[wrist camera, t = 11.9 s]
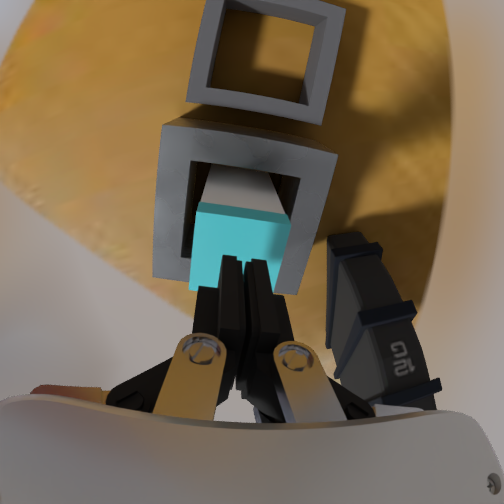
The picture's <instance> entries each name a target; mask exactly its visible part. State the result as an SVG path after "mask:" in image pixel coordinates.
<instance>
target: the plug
mask: <svg viewBox="0 0 504 504" xmlns="http://www.w3.org/2000/svg"><path fill="white" fill-rule="evenodd" d="M290 229H291V223H290V221H289V218H288V216H287V214H285V212H284V210H283V207H282V205H281V202H280V200H279V198H278V195H277V193H276V190H275V188H274V185H273V183H272V181H271V178H270V176H269V173H268V172H262V171H256V170H250V169H244V168H237V167H230V166H224V165H216V164H211V167H210V171H209V174H208V178H207V181H206V184H205V188H204V191H203V195H202V198H201V202H199V204H198V208H197V211H196V219H195V228H194V238H193V248H192V258H191V269H190V281H189V290H194V291H198V287H199V286H207V287H215V288H217V286H218V280H219V273H220V267H221V260H222V255H231V256H237V260H240V261H242V268H243V272H244V267H245V263H246V261H248V262H251V259H252V258H254V259H262V260H266V261H267V265H268V270H269V275H270V281H271V286H272V291H273V292H274V288H275V284H276V281H277V277H278V273H279V270H280V266H281V262H282V259H283V255H284V251H285V248H286V244H287V240H288V236H289V232H290Z"/></svg>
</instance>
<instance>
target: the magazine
mask: <svg viewBox="0 0 504 504" xmlns="http://www.w3.org/2000/svg"><path fill="white" fill-rule="evenodd" d="M382 252H383V249H382V247H381V246H380V245H379V243H378V242H373V243H369V242H368V241H367V240H366V238H365V237H364V236H363V234H362V233H361V232H352V233H345V234H338V235H331V236H328V238H327V307H326V343H325V345H326V348H327V349H330V348H332V351H333V355H334V358H335V362H336V365H337V367H336V369H335V372H334V378H335V379H339V378H340V381H341V385H342V386H343V387H345V388H346V389H348V390H349V391H351V392H352V393H354V394H355V395H357V396H359V397H360V398H362V399H363V400H365V401H366V402H367V403H368V404H370V406H371V407H373V406H374V405H375V404H380V405H389V406H400V407H413V408H420V409H423V410H424V411H428V410H437V409H436V404H435V399H434V393H437V392H439V391H442V386H441V382H440V378H436V379H433V380H431V381H430V378H429V373H428V369H427V366H426V362H425V358H424V355H423V351H422V347H421V345H420V342H419V340H418V337H417V335H416V332H415V329H414V327H413V325H412V322H411V321H412V320H413V319H414V317H415V316H416V314H417V311H416V308H415V306H414V304H413V301H412V300H409V301H404V302H403V301H402V299H401V297H400V294H399V292H398V290H397V288H396V286H395V284H394V282H393V280H392V278H391V276H390V274H389V273H388V271H387V269H386V268H385V266H384V265H383V263H382V261H381V258H382Z"/></svg>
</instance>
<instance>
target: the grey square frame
mask: <svg viewBox="0 0 504 504" xmlns="http://www.w3.org/2000/svg"><path fill="white" fill-rule="evenodd" d="M226 9H233V10H240V11H247V12H253V13H259V14H264V15H269V16H274V17H279V18H284V19H288V20H292V21H296V22H300V23H304V24H308V25H312V26H315V29H314V34H313V39H312V44H311V48H310V53H309V58H308V62H307V67H306V72H305V76H304V81H303V86H302V90H301V95H300V99H299V104H298V103H294V102H289V101H285V100H280V99H275V98H270V97H265V96H260V95H254V94H249V93H243V92H236V91H230V90H223V89H215V88H210V85H211V79H212V74H213V69H214V64H215V59H216V54H217V49H218V44H219V39H220V35H221V30H222V26H223V21H224V17H225V13H226ZM345 13H346V9H344V8H341V7H338V6H335V5H332V4H329V3H326V2H323V1H319V0H206V4H205V8H204V12H203V16H202V20H201V25H200V29H199V34H198V38H197V43H196V48H195V53H194V58H193V63H192V68H191V74H190V79H189V85H188V91H187V97H186V102H191V103H200V104H209V105H216V106H224V107H230V108H237V109H243V110H249V111H255V112H260V113H266V114H271V115H276V116H281V117H286V118H290V119H295V120H299V121H304V122H308V123H312V124H316V125H320V126H321V124H322V120H323V116H324V112H325V107H326V103H327V98H328V94H329V90H330V85H331V81H332V76H333V71H334V67H335V62H336V57H337V53H338V48H339V43H340V38H341V33H342V28H343V23H344V18H345Z"/></svg>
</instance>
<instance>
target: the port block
mask: <svg viewBox="0 0 504 504" xmlns="http://www.w3.org/2000/svg"><path fill="white" fill-rule="evenodd" d="M337 158H338V154H337V153H335V152H333V151H332V150H330V149H329V148H327V147H326V146H324V145H322V144H321V143H319V142H318V141H316V140H312V139H308V138H304V137H299V136H295V135H290V134H285V133H280V132H275V131H270V130H265V129H259V128H254V127H248V126H242V125H235V124H229V123H222V122H215V121H207V120H199V119H190V118H181V117H179V118H176V119H174V120H172V121H170V122H167V123H165V124H163V125H162V132H161V140H160V149H159V159H158V170H157V182H156V196H155V212H154V234H153V277H156V278H162V279H169V280H177V281H184V282H189V281H190V269H191V258H192V248H193V238H194V228H195V224H192V223H191V215H192V206H193V197H194V189H195V181H196V173H197V166H198V161H201V162H208V163H215V164H222V165H229V166H236V167H242V168H249V169H255V170H261V171H266V172H272V173H278V174H283V175H282V180H281V184H280V188H279V193H278V198H279V200H280V202H281V205H282V207H283V210H284V212H285V214H287V216H288V218H289V221H290V223H291V229H290V232H289V236H288V240H287V244H286V248H285V251H284V255H283V259H282V262H281V266H280V270H279V273H278V277H277V281H276V284H275V288H274V292H273V293H283V294H292V295H297V292H298V289H299V286H300V283H301V280H302V277H303V274H304V271H305V268H306V264H307V261H308V258H309V255H310V252H311V249H312V245H313V242H314V239H315V236H316V232H317V229H318V226H319V222H320V219H321V216H322V212H323V209H324V205H325V202H326V198H327V195H328V191H329V188H330V184H331V180H332V177H333V173H334V169H335V166H336V162H337Z"/></svg>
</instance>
